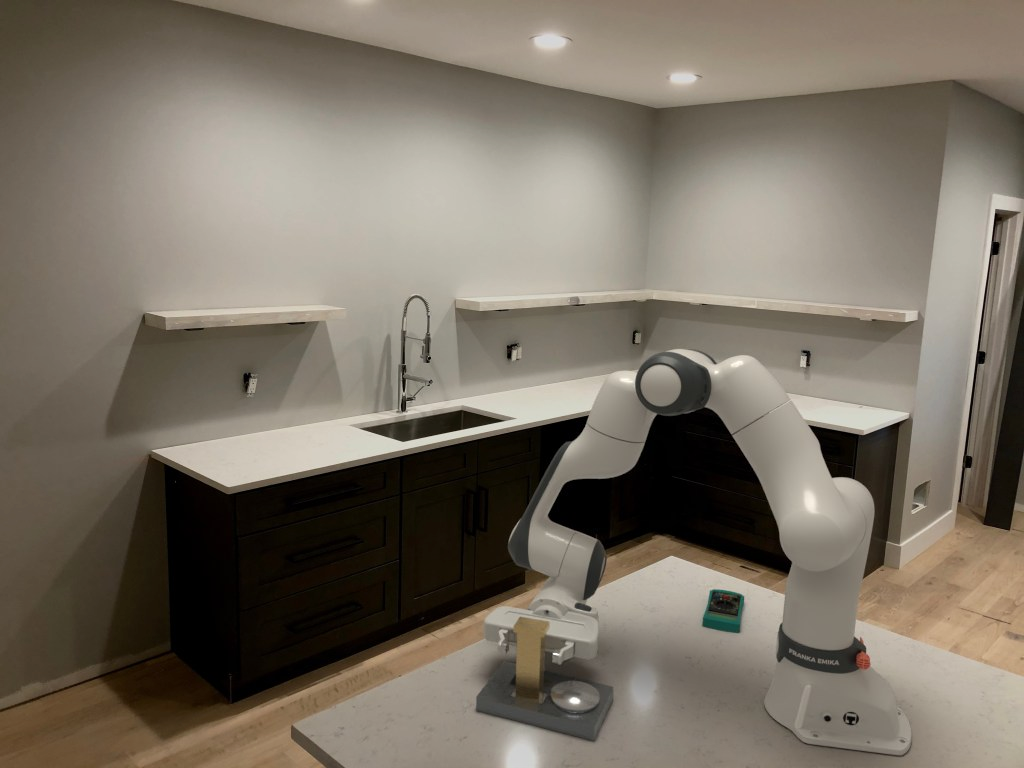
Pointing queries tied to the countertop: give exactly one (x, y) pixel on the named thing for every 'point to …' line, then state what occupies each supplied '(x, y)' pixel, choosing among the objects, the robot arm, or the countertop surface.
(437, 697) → the countertop surface
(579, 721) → the gray socket block
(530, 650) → the wedge pin
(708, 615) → the digital multimeter
